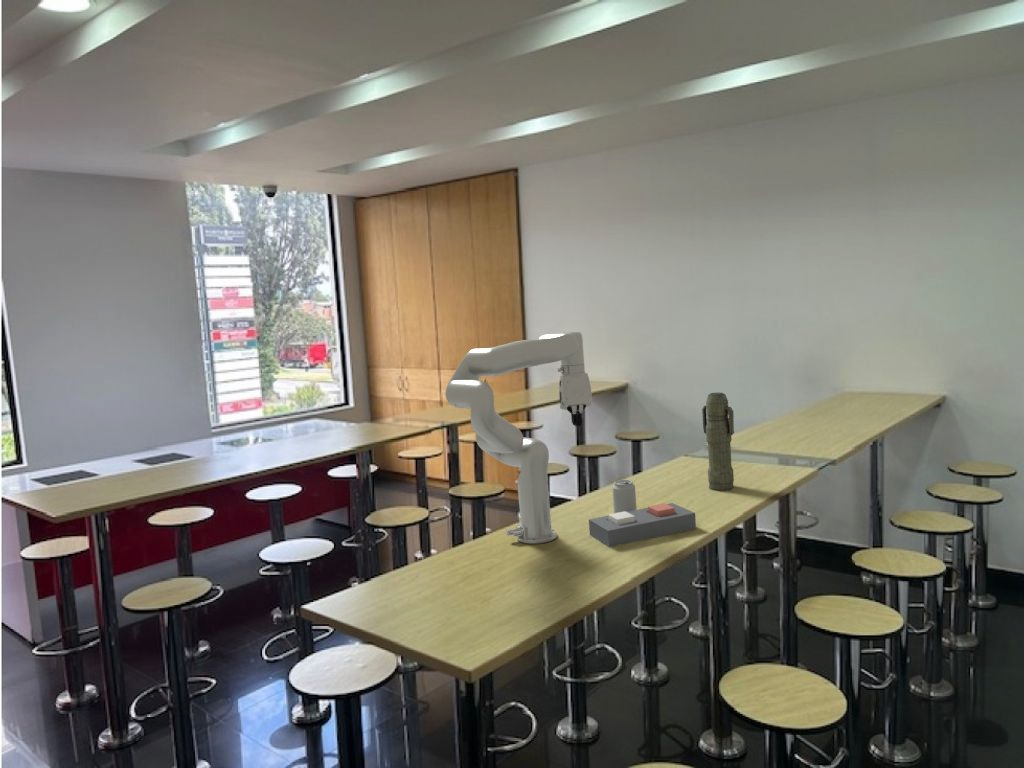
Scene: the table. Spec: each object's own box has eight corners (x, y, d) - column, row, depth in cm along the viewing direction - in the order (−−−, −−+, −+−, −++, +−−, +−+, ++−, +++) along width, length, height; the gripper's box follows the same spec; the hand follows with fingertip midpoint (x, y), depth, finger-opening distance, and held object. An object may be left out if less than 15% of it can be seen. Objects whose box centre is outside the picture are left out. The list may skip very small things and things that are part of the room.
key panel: (609, 547, 212) (607, 530, 211) (589, 534, 224) (588, 519, 224) (696, 528, 222) (695, 513, 221) (673, 517, 234) (672, 502, 233)
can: (636, 519, 235) (634, 484, 234) (613, 520, 236) (611, 484, 235) (637, 513, 242) (635, 478, 241) (614, 513, 244) (612, 479, 242)
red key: (658, 523, 221) (657, 511, 221) (648, 518, 227) (647, 506, 226) (675, 520, 223) (674, 507, 223) (665, 515, 229) (664, 503, 228)
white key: (617, 532, 217) (617, 519, 216) (608, 527, 222) (607, 514, 222) (635, 528, 218) (634, 516, 218) (626, 523, 224) (625, 511, 224)
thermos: (731, 492, 257) (727, 395, 252) (701, 489, 264) (696, 395, 260) (742, 486, 263) (737, 392, 259) (711, 483, 271) (707, 391, 267)
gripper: (556, 373, 228) (560, 430, 230) (598, 368, 233) (602, 423, 235) (547, 371, 235) (551, 426, 237) (588, 366, 240) (592, 420, 242)
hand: (577, 425), depth 236 cm, fingers closed
